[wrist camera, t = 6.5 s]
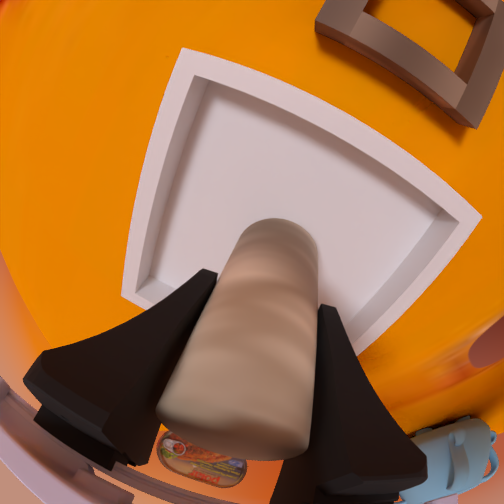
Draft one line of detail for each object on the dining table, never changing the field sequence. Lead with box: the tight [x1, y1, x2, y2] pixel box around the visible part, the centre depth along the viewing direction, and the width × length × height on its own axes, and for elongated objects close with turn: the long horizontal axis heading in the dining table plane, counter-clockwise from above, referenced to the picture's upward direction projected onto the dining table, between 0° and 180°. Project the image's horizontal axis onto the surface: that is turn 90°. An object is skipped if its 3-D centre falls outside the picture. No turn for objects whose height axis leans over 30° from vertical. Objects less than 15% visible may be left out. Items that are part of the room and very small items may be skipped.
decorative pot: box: [394, 416, 499, 504], centre depth 21 cm, size 16×16×14 cm
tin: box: [157, 430, 247, 488], centre depth 33 cm, size 15×3×8 cm, turn 56°
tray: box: [121, 48, 482, 356], centre depth 14 cm, size 15×15×3 cm
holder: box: [315, 0, 504, 129], centre depth 7 cm, size 8×8×2 cm
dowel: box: [155, 218, 318, 461], centre depth 10 cm, size 4×4×9 cm
